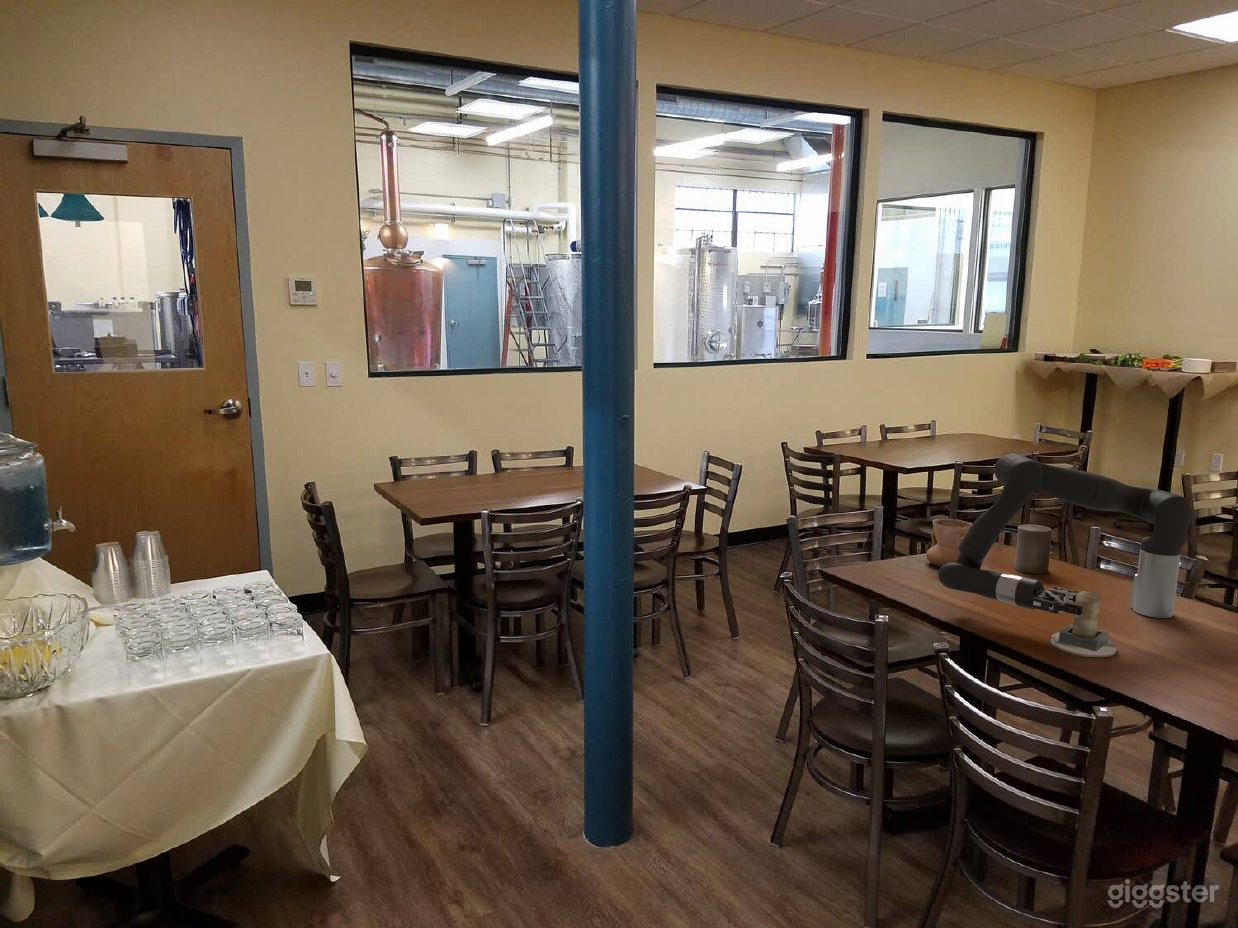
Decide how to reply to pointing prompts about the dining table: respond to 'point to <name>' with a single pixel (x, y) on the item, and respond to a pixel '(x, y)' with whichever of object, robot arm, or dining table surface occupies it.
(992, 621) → the dining table surface
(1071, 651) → the rosette plate
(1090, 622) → the beige rectangular block
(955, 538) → the ceramic jug
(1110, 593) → the dining table surface
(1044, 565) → the pillar candle
